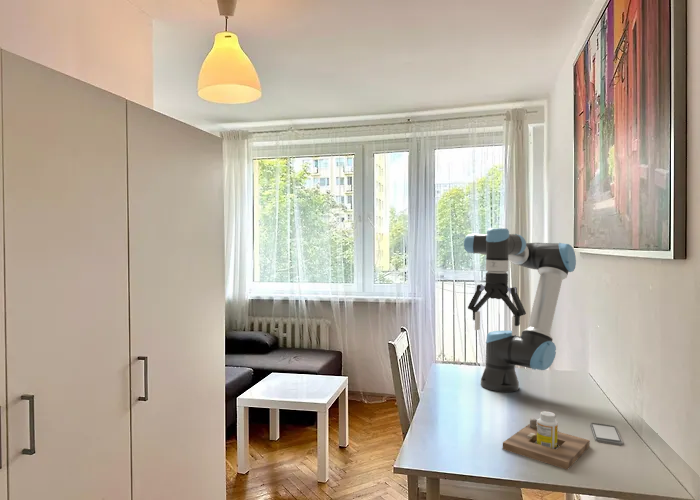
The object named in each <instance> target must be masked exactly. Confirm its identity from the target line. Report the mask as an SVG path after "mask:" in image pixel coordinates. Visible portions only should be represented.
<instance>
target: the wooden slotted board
mask: <svg viewBox="0 0 700 500" xmlns="http://www.w3.org/2000/svg"><path fill="white" fill-rule="evenodd" d="M537 420H538V419H536V418H530V419H529V423H528V424H527V425H525V426H524V427H523V428H521V429H520V430H519V431H517V432H516V433H514V434H512V435H511V436H510V437H509V438H507V439H505V440H504V441H503V442H502V450H504V451H507V452H511V453H514V454H516V455H519V456H523V457H527V458H529V459H532V460H536V461H539V462H542V463H545V464H549V465H551V466H554V467H557V468H561V469H564V470H567V471H568V470H569V469H570V468H572V466H573V465H574V464H575V463H576V462H577V461H578V460H579V459H578V458H580V457H582V456H583V455H584V453H585V452H586V451H587V450H588V449H589V448H591V446H590V445H591V442H590V441H591V440H590V439H586V438H583V437H580V436H579V437H578V436H575V435H573V434H572V435H571V434H568V433H564V432H562V431H558V432H557V445H559V446H558V447H557V449H552V448H549V447H546V446H542V445H539V444H537ZM577 459H578V460H577ZM576 460H577V461H576ZM575 461H576V462H575Z"/></svg>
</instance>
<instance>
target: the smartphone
mask: <svg viewBox="0 0 700 500" xmlns="http://www.w3.org/2000/svg"><path fill="white" fill-rule="evenodd" d="M590 428H592V429H591V431H592V435H593V438H594V441H595V442H597V443H603V444H608V445H616V446H623V444H624V443H623V440H622V438H621V436H620V435H621V434H620V433H619V431H618V429H617V426H615V425H612V424H604V423H596V422H590Z"/></svg>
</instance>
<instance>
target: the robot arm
mask: <svg viewBox="0 0 700 500" xmlns="http://www.w3.org/2000/svg"><path fill="white" fill-rule="evenodd" d="M463 248H464V250H465V252H467V253H468V254H480V255H484V256H486V257H485V271H486V273H485V285H483V284H482V283H481V284H480V283H479V284H477V285H476V289H475V292H474V294H473V296H472V298H471V300H470V301H469V304H468V306H467V309H468V310H470V311H471V312H472V321H474V331H479V330H481V311H480V309H481V308H482V307H483V306H484V304H486V302H487V301H488V300H490V299H496V300H502V301H503V302H504V303H505V305H506V306H507V307H508V309H509V310H510V311H511V313H512V314H513V316H512V317H511V330H494V331H490V332H487V334H486V341H485V368H484V369H483V373H482V376H481V378H480V386H481V387H482V388H484V389H486V390H489V391H492V392H493V391H494V392H501V393H511V392H517V391H518V390H519V388H520V387H519V386H520V383H519V380H518V379H519V378H518V376H517V372H516V366H519V367H522V368H526V369H527V368H529V369H532V370H535V371H536V370H538V371H546V370H548V369H549V368H550V367H551V366H552V365H553V363H554V360H555V358H556V353H557V352H556V350H557V346H556V344H555V342H553V336H552V335H551V329H552V325H553V320H554V317H555V312H556V308H557V303H558V301H559V300H558V299H559V295H560V291H561V288H562V287H561V286H562V283H563V280H565V279H567V278H568V274H569V273H571V272H572V273H573V272H574V271H575V269H576V265H577V258H576V252H575V249H574V247H573V246H572V245H571V244H569V243H562V242H554V243H551V242H527V241H526V239H525V237H524V236H522V235H521V234H517V233H511V234H510V230H509V229H508V228H499V227H496V228H493V227H492V228H488V229H487V230H486V233H469V234H467V235H465V238H464V239H463ZM509 261H510V262H511V263H512V264H513V265H517V266H520V267H523V268H526V269H531V270H537V272H538V274H539V280H538V284H537V288H536V291H535V296H534V300H533V303H532V307H531V312H530V316H529V319H528V325H527V328H525V329H523V330H522V331H521V335H518V327H519V326H520V324H521V317H522V316H524V315H526V314H527V313H526V310H525V308H524V306H523V303H522V300H521V298H520V297H519V294H518V287H516V286H513V287H509V286H508V284H509V283H508V282H509V274H508V273H507V272H509ZM483 291H485V294H484V295H483V297H482V298H481V299H480V297H481V295H482V293H483ZM508 292H509V294H510V295H511V298H512V300H513V301H512V300H511V299H510V297H509V295H508ZM479 299H480V300H479ZM478 300H479V301H478ZM477 302H478V303H477ZM513 302H514V303H513Z"/></svg>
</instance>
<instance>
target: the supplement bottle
mask: <svg viewBox="0 0 700 500" xmlns="http://www.w3.org/2000/svg"><path fill="white" fill-rule="evenodd" d="M536 420H537V441H536V444H539V445H542V446H546V447H549V448H552V449H558V446H557V432H559V431H558V426H559V425H558V423H559V422H558V421H557V420H556V414H555V413H554V412H551V411H545V410H543V411H541V412H540V414H539V418H538V419H536Z"/></svg>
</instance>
